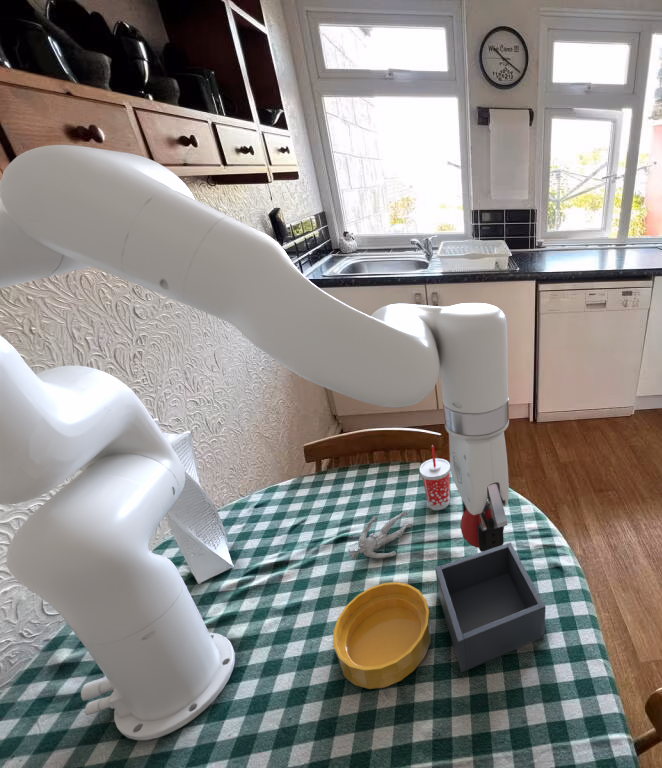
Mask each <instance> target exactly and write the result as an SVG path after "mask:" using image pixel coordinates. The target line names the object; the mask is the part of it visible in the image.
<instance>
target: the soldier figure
mask: <svg viewBox="0 0 662 768" xmlns="http://www.w3.org/2000/svg"><path fill="white" fill-rule="evenodd" d="M407 515H408V511H407V510H404V511H403V512H401V513H399V514H397V515H396V516H394V517H392V518H390V519H389V520H388V521H386V522H385V524H384V525H383V526H382V527H381V529H380V530H378V531H376V532H372V533H370V534H369V535H368V533H369V531H370V529H371V527H372V524H373V523H375V522H378V520H377V519H378V518H379V517H378V515H374V516H372V518H371V519H370V520H369V521H368V522H367V524H366V525H365V527H364V528H363V529H362V531H361V534H360V536H359V539H358V546H357V548H356V547H353V548H350V547H349V548H347V551H348V554H349V556H350V558H351V559H352V560H353V561H355V560H356V559H357V557H358V556H359V553H360V554H363V555H364V556H365V557H367V558H372V559H378V560H379V559H386V558H391V557H394V556H396V555H397V552H396V551H395V550H393V551H391V552H388V553H386V552H385V553H384V552H383V553H382V552H375V551H377V550H379V549H380V548H381V547H383V546H385V545H387V544H389V543H391V542H393V541H394V540H396V539H397V538H400V537H402V536H403V533H404V532H405V531H406V529H409V528H410V529H411V528H412V527H414V523H413V522H408V523H406V524H404V525H403V526H402V527H401V528H399V529H398V530H396V531H394V532H392V533H389V531H390V530H391V528H393V526H394V525H395V524H396V522H397V521H398V520H399V519H400V518H403V517H406V516H407ZM388 533H389V534H388ZM367 535H368V537H367Z"/></svg>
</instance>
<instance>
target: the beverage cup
mask: <svg viewBox="0 0 662 768" xmlns="http://www.w3.org/2000/svg"><path fill="white" fill-rule="evenodd" d="M431 455H432V458H431V459H428V460H425V461H424V462H423V463H421V464H420V466H419V475H420V476H421V479H422V483H423V488H424V489H423V490H424V493H425V498H426V499H425V500H426V505H427V506H428V508H429V509H430V510H432V511H441V510H444V509H446V508H447V507H448V506H449V505H450V503H451V495H450V494H451V490H450V489H451V487H450V473H451V470H450V461H448V460H446V459H444V458H439V457H436V454H435V446H434V445H431Z"/></svg>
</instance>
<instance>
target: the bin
mask: <svg viewBox="0 0 662 768" xmlns="http://www.w3.org/2000/svg"><path fill="white" fill-rule="evenodd" d="M434 569H435V577H436V585H437V593H438V599H439V602H440V606H441V609H442V612H443V616H444V619H445V623H446V626H447V631H448V634H449V636H450V640H451V643H452V647H453V650H454V654H455V657H456V660H457V661H456V662H457V664H458V668H459V671H460V673H464V672H466V671H469V670H471V669H473V668H475V667H478V666H480V665H483V664H485V663H488V662H489V661H492V660H495V659H496V658H499V657H501V656H503V655H506V654H508V653H510V652H513V651H515V650H517V649H520V648H522V647H524V646H526V645H529V644H532V643H534V642H536V641H538V640H541V639H542V638H545V629H546V627H545V626H546V625H545V624H546V605H545V603H544V601H543V599H542V597H541V596H540V594H539V592H538V590H537V588H536V586H535V584H534V583H533V581H532V579H531V577H530V575H529V574H528V572H527V570H526V568H525V567H524V565H523V563H522V561H521V558H520V557H519V555H518V553H517V551H516V550H515V548H514V546H513V544H512V542H508V543H505V544H504V543H503V545H501V546H498V547H495V548H492V549H489V550H486V551H483V552H481V551H480V552H477V553H474V554H471V555H468V556H465V557H462V558H459V559H456V560H453V561H450V562H448V563H444V564H442V565H438V566H436V567H435V568H434Z"/></svg>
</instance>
